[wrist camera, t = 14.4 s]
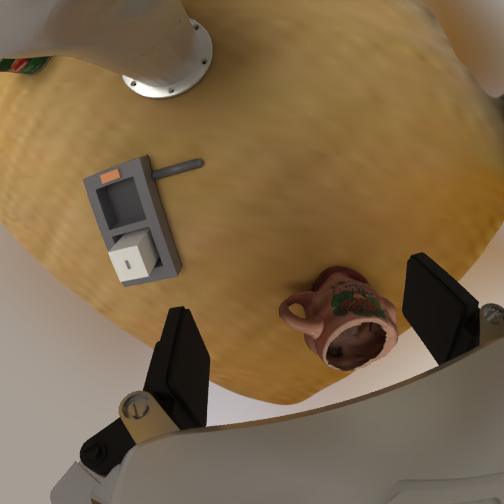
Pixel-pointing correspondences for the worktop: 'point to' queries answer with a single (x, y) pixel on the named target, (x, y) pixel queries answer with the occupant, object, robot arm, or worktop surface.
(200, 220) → the worktop surface
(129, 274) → the block
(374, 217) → the worktop surface
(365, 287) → the decorative planter
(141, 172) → the power strip
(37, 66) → the canned tomato
